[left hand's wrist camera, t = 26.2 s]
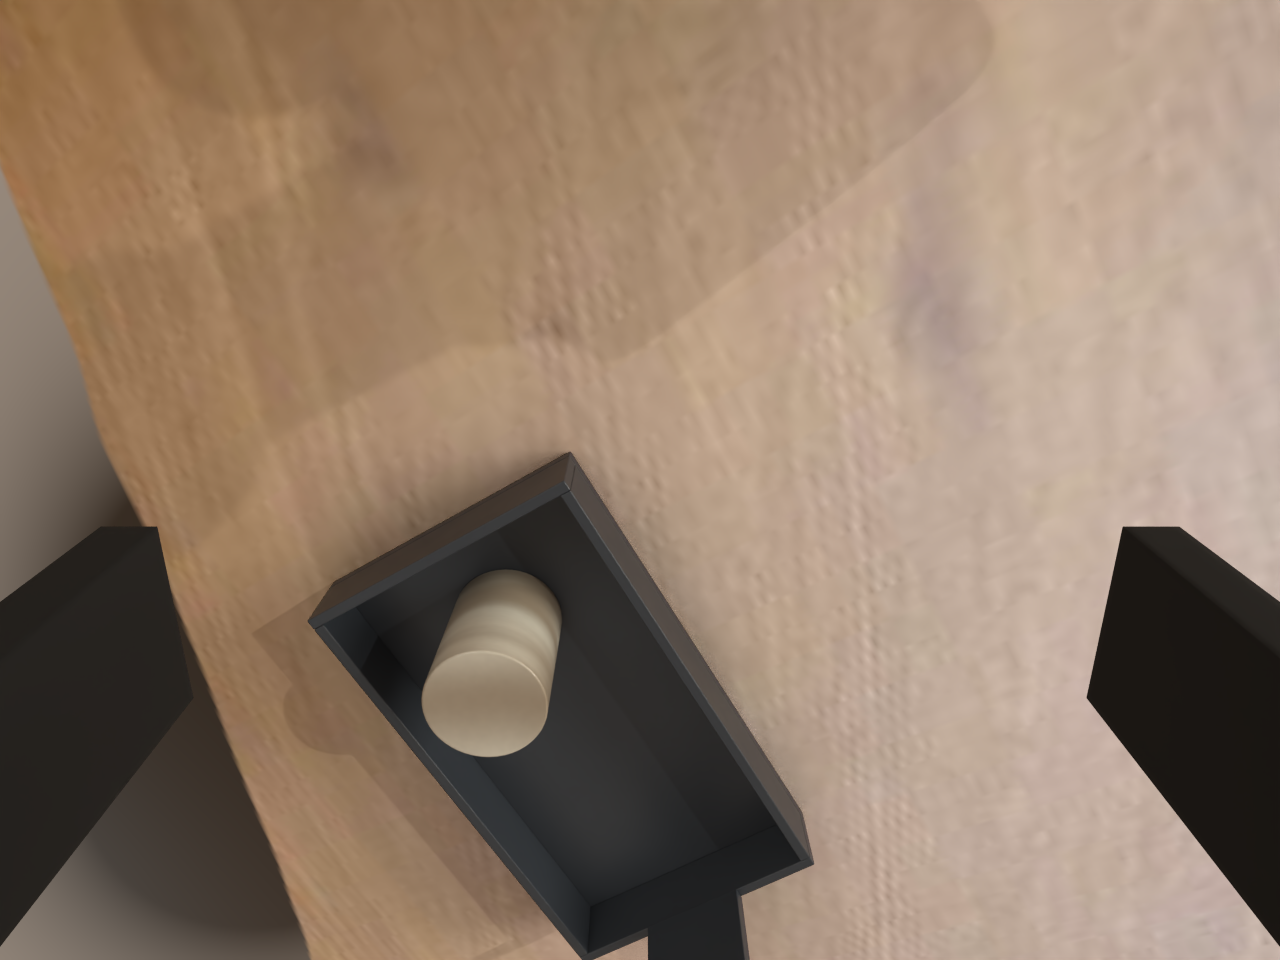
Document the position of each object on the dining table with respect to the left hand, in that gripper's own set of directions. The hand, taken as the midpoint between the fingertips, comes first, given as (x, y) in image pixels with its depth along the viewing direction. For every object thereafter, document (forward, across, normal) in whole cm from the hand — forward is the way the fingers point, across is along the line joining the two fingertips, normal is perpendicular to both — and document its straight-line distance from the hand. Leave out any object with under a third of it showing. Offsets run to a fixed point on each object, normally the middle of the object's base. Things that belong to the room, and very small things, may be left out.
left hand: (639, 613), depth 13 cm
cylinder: (+26, -6, -15) cm, 31 cm away
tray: (+27, -3, -20) cm, 34 cm away
